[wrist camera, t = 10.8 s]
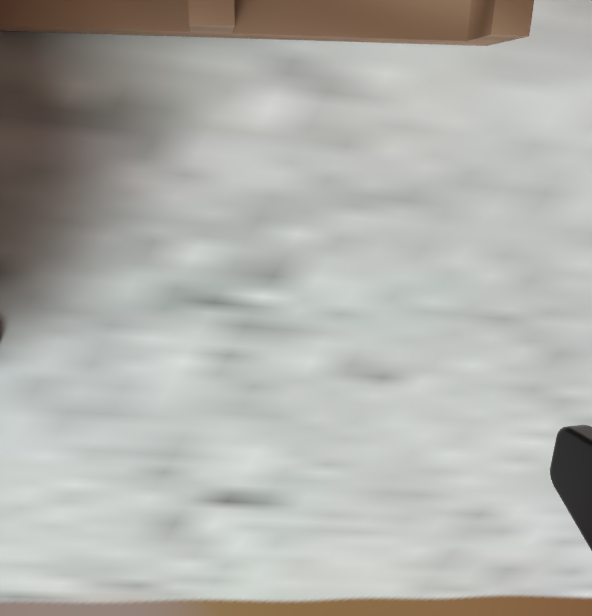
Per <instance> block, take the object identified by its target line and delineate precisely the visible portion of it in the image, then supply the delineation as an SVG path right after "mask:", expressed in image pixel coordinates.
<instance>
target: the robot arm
mask: <svg viewBox="0 0 592 616" xmlns="http://www.w3.org/2000/svg"><path fill="white" fill-rule="evenodd" d="M550 475H551V480H552V482H553V485H554V487H555V489H556V490H557V492H558V494H559V495H560V497H561V499H562V501H563V502H564V504H565V506H566V507H567V509H568V511H569V513H570V514H571V516H572V518H573V519H574V521H575V523H576V525H577V526H578V528H579V530H580V531H581V533H582V535H583V537H584V538H585V540H586V542H587V543H588V545H589V547H590V549H591V550H592V427H591V426H587V425H579V426H569V427H563V428H562V429H560V431H559V432H558V434H557V437H556V442H555V447H554V452H553V457H552V462H551V467H550Z"/></svg>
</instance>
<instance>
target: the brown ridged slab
mask: <svg viewBox="0 0 592 616" xmlns="http://www.w3.org/2000/svg"><path fill="white" fill-rule="evenodd" d="M533 4H534V0H0V31H28V32H60V33H92V34H124V35H156V36H188V37H220V38H253V39H285V40H317V41H349V42H381V43H413V44H445V45H477V46H488V45H492V44H497V43H501V42H505V41H510V40H514V39H518V38H523V37H527V36H529V32H530V25H531V18H532V11H533Z"/></svg>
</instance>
